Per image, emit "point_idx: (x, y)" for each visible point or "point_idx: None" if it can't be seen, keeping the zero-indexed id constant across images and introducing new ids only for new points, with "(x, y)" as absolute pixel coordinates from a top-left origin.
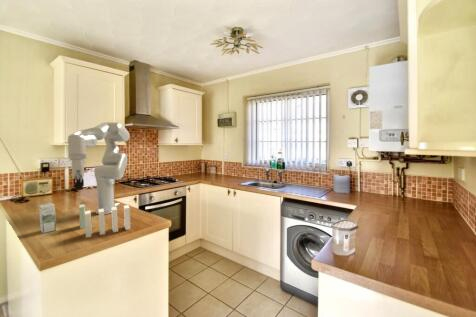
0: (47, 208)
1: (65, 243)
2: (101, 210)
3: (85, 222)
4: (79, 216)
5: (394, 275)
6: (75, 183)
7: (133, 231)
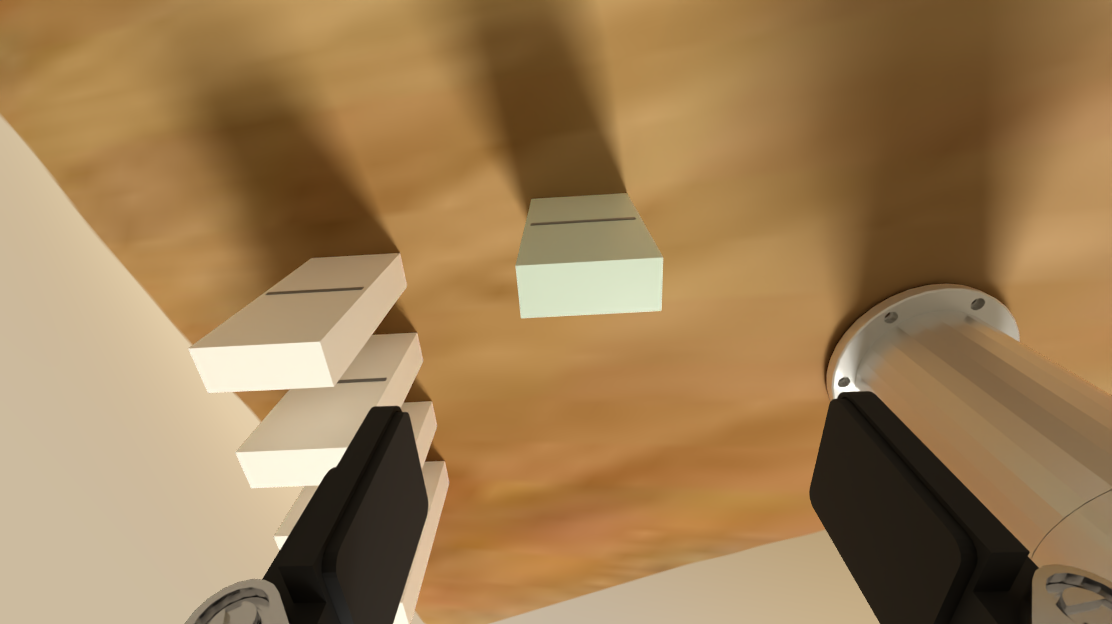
0: None
1: (232, 133)
2: (293, 470)
3: (244, 311)
4: (524, 230)
5: None
6: (296, 548)
7: None
